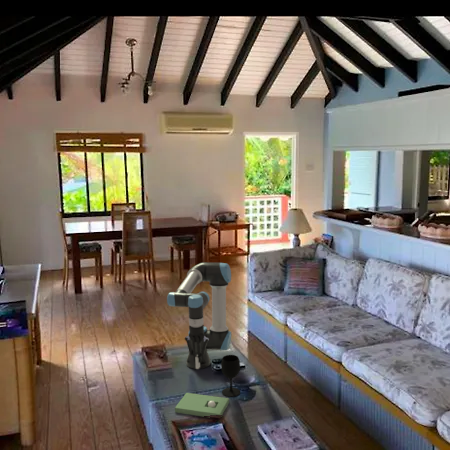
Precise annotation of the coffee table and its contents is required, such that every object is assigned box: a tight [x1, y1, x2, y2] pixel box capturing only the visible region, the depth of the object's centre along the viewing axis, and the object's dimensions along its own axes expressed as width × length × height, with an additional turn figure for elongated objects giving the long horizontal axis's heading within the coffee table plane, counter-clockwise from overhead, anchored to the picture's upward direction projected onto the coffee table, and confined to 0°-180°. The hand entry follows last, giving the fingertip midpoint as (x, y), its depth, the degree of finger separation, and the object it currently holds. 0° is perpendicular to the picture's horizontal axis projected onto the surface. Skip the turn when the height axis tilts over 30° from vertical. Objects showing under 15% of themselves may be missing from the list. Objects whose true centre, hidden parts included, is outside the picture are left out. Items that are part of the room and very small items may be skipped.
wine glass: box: [220, 354, 241, 398], centre depth 260 cm, size 10×10×20 cm
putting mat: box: [174, 392, 230, 417], centre depth 246 cm, size 16×24×2 cm, turn 73°
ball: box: [208, 401, 216, 408], centre depth 244 cm, size 4×4×4 cm
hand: (197, 367), depth 249 cm, fingers closed
